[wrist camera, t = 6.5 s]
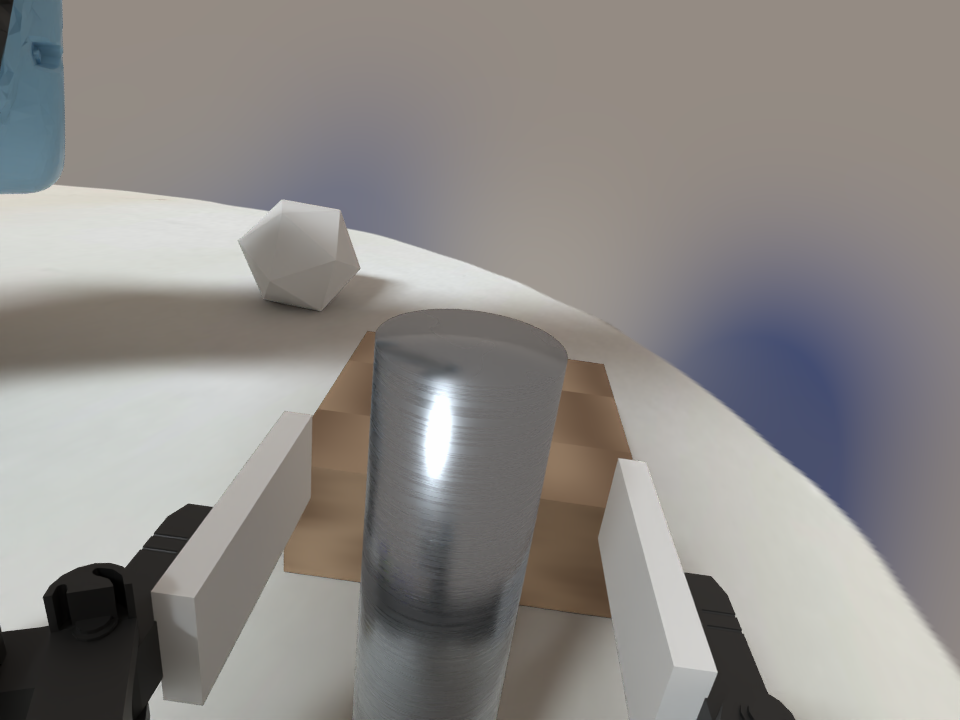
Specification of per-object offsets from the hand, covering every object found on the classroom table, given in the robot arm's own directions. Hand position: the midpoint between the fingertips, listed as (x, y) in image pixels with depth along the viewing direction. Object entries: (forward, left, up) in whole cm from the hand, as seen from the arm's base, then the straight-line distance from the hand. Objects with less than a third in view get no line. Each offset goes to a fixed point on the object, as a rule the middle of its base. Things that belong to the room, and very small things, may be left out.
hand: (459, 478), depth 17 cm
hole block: (-8, +6, -8) cm, 13 cm away
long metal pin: (+4, -3, -8) cm, 9 cm away
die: (-36, +7, -8) cm, 38 cm away
